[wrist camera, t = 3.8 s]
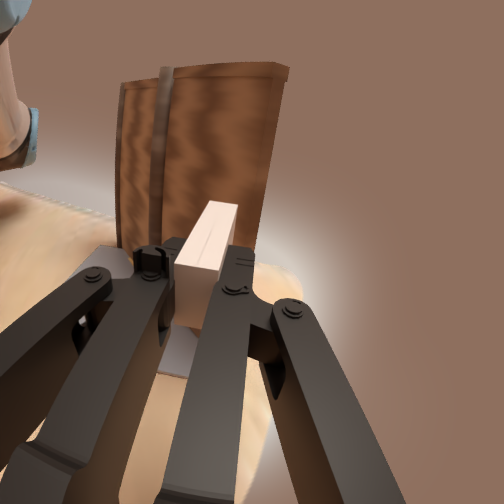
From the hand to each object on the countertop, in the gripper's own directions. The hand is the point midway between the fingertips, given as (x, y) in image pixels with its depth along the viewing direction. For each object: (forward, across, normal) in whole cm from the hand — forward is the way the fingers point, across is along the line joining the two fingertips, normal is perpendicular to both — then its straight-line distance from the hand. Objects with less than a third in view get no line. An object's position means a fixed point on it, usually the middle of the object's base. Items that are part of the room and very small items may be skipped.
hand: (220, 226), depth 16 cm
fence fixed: (+18, -13, -16) cm, 28 cm away
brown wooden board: (+8, -3, -15) cm, 18 cm away
